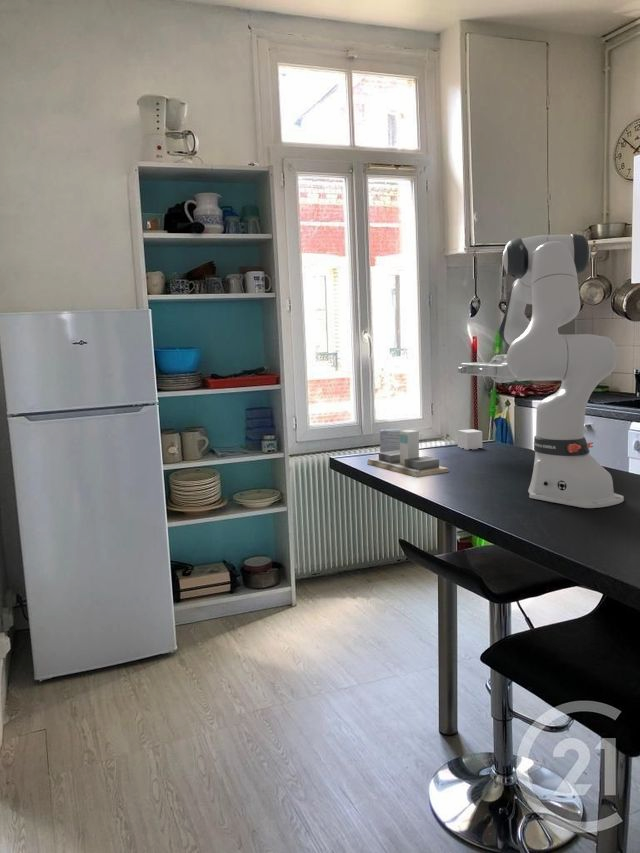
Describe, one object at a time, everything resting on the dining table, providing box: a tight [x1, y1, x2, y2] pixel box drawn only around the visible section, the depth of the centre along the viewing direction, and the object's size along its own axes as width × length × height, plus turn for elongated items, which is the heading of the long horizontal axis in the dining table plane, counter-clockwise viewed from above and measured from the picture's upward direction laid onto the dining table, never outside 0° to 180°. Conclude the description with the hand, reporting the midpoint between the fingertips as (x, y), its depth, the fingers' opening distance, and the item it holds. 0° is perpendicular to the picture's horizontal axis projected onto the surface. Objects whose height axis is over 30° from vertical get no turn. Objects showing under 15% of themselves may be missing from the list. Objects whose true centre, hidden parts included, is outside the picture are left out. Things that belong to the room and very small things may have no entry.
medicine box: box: [379, 428, 404, 453], centre depth 228 cm, size 8×4×9 cm, turn 84°
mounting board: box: [367, 450, 450, 478], centre depth 208 cm, size 24×12×4 cm, turn 31°
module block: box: [400, 429, 420, 465], centre depth 208 cm, size 4×4×10 cm
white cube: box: [457, 428, 483, 451], centre depth 239 cm, size 6×6×6 cm
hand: (469, 370), depth 212 cm, fingers open, 8 cm apart
